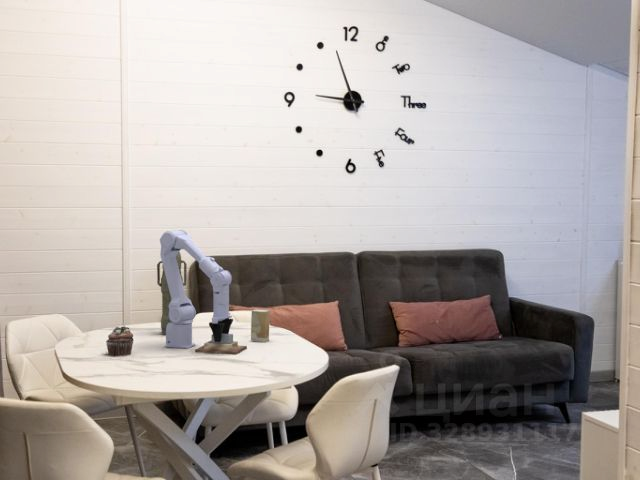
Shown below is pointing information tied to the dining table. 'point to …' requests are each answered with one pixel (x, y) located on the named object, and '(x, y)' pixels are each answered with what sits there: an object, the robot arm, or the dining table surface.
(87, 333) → the dining table surface
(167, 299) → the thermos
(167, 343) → the robot arm
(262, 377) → the dining table surface
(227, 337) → the key block
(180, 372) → the dining table surface
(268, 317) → the skincare box
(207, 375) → the dining table surface
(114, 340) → the cupcake
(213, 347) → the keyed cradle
